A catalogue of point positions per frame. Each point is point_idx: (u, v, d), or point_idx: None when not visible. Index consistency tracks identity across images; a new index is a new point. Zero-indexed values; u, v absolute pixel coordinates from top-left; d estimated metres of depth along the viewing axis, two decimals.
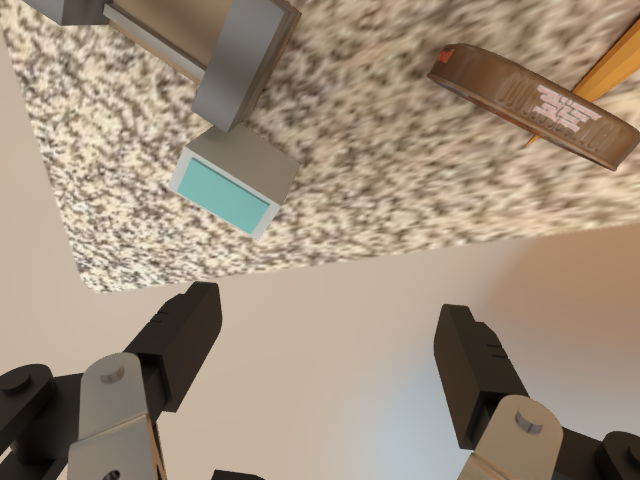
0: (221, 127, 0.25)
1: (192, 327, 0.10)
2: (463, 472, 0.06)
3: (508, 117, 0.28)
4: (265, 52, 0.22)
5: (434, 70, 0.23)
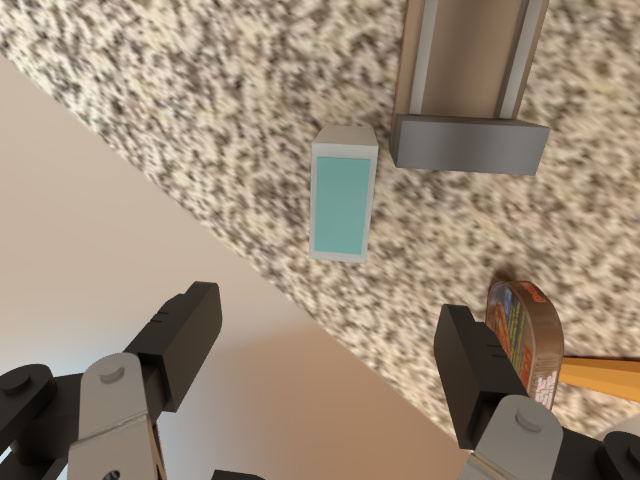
0: (399, 159, 0.22)
1: (192, 327, 0.10)
2: (463, 472, 0.06)
3: None
4: (493, 172, 0.22)
5: (521, 292, 0.28)
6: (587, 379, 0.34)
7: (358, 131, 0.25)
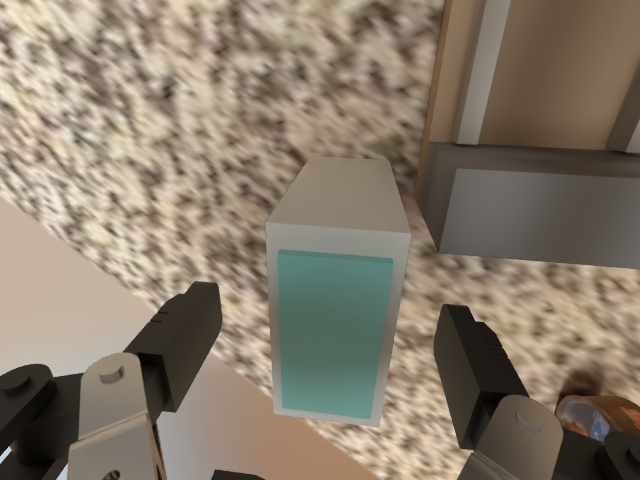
0: (446, 240, 0.11)
1: (192, 327, 0.10)
2: (463, 472, 0.06)
3: None
4: None
5: None
6: None
7: (365, 174, 0.14)
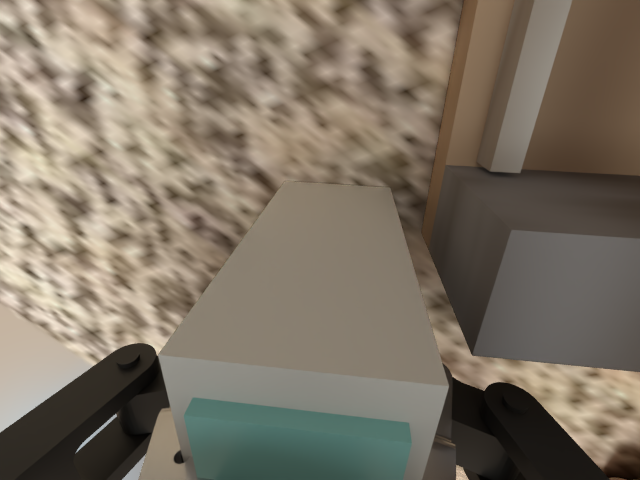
0: (486, 338, 0.07)
1: None
2: None
3: None
4: None
5: None
6: None
7: (357, 216, 0.10)
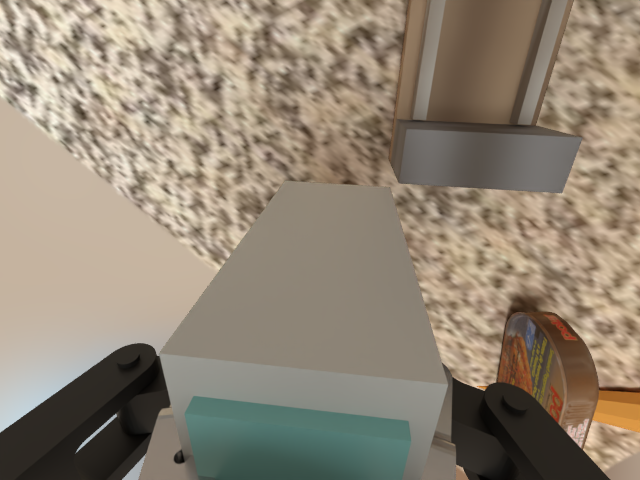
0: (403, 174, 0.19)
1: None
2: None
3: (503, 367, 0.32)
4: (512, 189, 0.19)
5: (548, 328, 0.25)
6: (606, 415, 0.31)
7: (357, 216, 0.10)
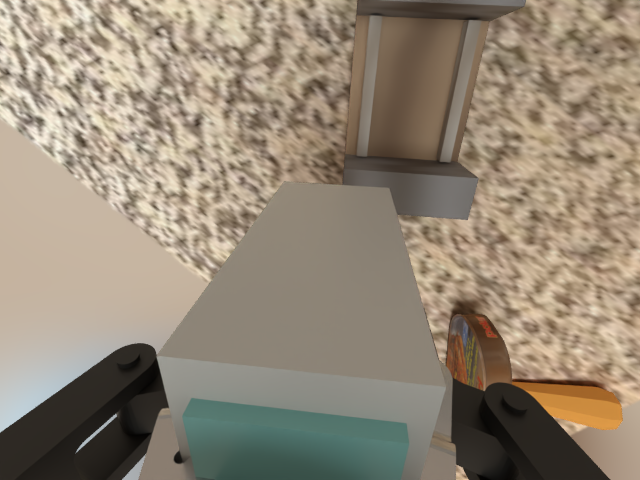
0: None
1: None
2: None
3: (449, 362, 0.37)
4: None
5: (475, 327, 0.30)
6: None
7: (356, 217, 0.10)
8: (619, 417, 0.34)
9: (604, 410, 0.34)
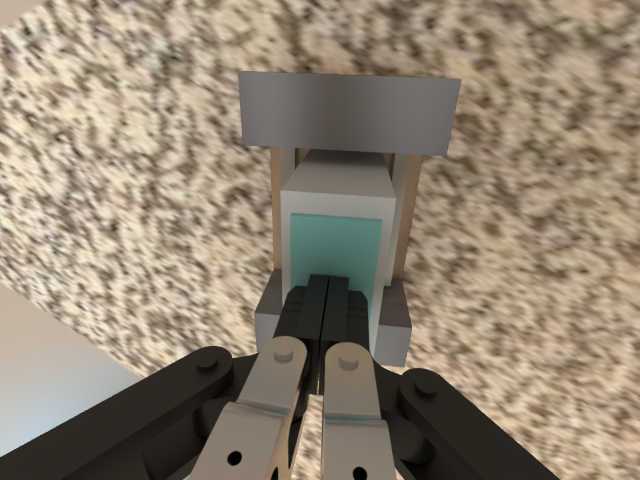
0: (259, 345, 0.20)
1: (323, 315, 0.11)
2: (325, 439, 0.06)
3: None
4: None
5: None
6: None
7: (360, 159, 0.17)
8: None
9: None
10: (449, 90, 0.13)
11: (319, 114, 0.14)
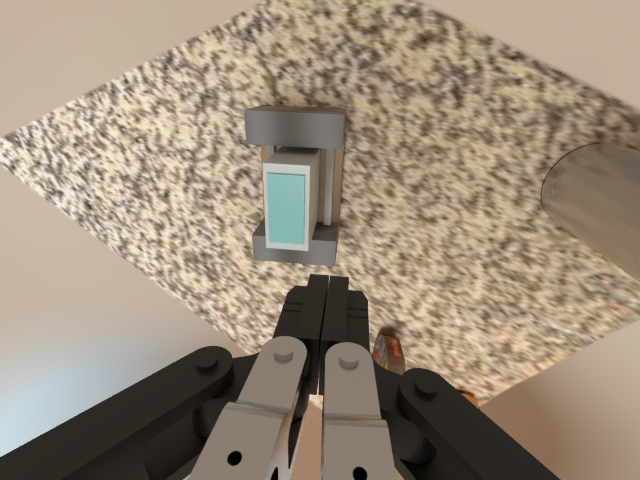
0: (254, 255, 0.36)
1: (323, 316, 0.11)
2: (325, 439, 0.06)
3: None
4: (310, 263, 0.36)
5: (388, 347, 0.43)
6: None
7: (305, 151, 0.33)
8: None
9: None
10: (339, 119, 0.29)
11: (282, 130, 0.30)
